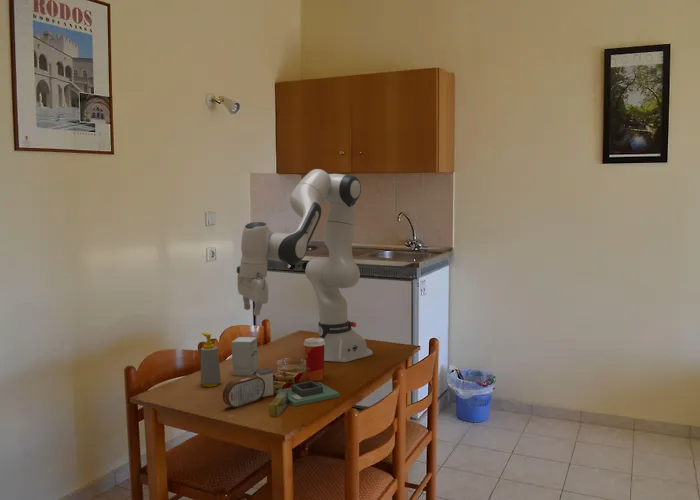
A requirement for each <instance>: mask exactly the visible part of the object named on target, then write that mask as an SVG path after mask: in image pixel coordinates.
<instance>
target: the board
mask: <svg viewBox="0 0 700 500" xmlns="http://www.w3.org/2000/svg"><path fill="white" fill-rule="evenodd" d="M280 391H288V399H289V403H288V404H290V405H291V406H293V407H298V406H302V405H307V404H312V403H316V402H322V401H326V400H330V399H331V400H332V399H336V398H339V397H340V393H339V392H338V391H336V390H335V389H333V388H331V387H329V386H327V385H326V384H324V383H322V382H321V381H309V380H307V381H304V382H299V383H294V384H291V387H287V388H286V387H285V388H281V389H277V390H275V394H276V396H277V395H278V393H279V392H280Z"/></svg>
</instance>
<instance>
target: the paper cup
mask: <svg viewBox="0 0 700 500" xmlns="http://www.w3.org/2000/svg"><path fill="white" fill-rule="evenodd" d="M324 344H325V342H324V339H322V338H319V337H309V338H305V339H304V342H303V346H304V353H305V354H304V356H305V367H306V369H305V370H306V376H307V377H306V378H307V381H314V382H321V381H323V380H324V376H325V375H324V372H325V361H324Z"/></svg>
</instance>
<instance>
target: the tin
mask: <svg viewBox="0 0 700 500" xmlns="http://www.w3.org/2000/svg"><path fill="white" fill-rule="evenodd" d="M264 391H265V382H264V380H263V379H262V378H260V377H258V376H257V375H256V374H253V375H250V376H242V377H239V378H236V379H233V380H230V381H229V382H228V383H226V385H225V386H224V389H223V391H222V400H223V402H224V404H225V405H226V406H228V407H231V408H239V407H242V406H245V405H246V406H247V405H249V404H252V403H255V402H258V401H259V400H261V398H262V396H263V394H264Z"/></svg>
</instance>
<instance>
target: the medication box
mask: <svg viewBox="0 0 700 500" xmlns="http://www.w3.org/2000/svg"><path fill="white" fill-rule="evenodd" d="M289 404H290V403H289V399H288V391H280V392H279V393H278V395H277V394H276V396H275V397H274V398H273V399H272V400H271V402H270V403H269V404H268V408H269V409H268V410H269V416H270V417H280V415H281V414H282V412H283V411H284V410H285V409H286V407H287V406H288V405H289Z"/></svg>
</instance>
